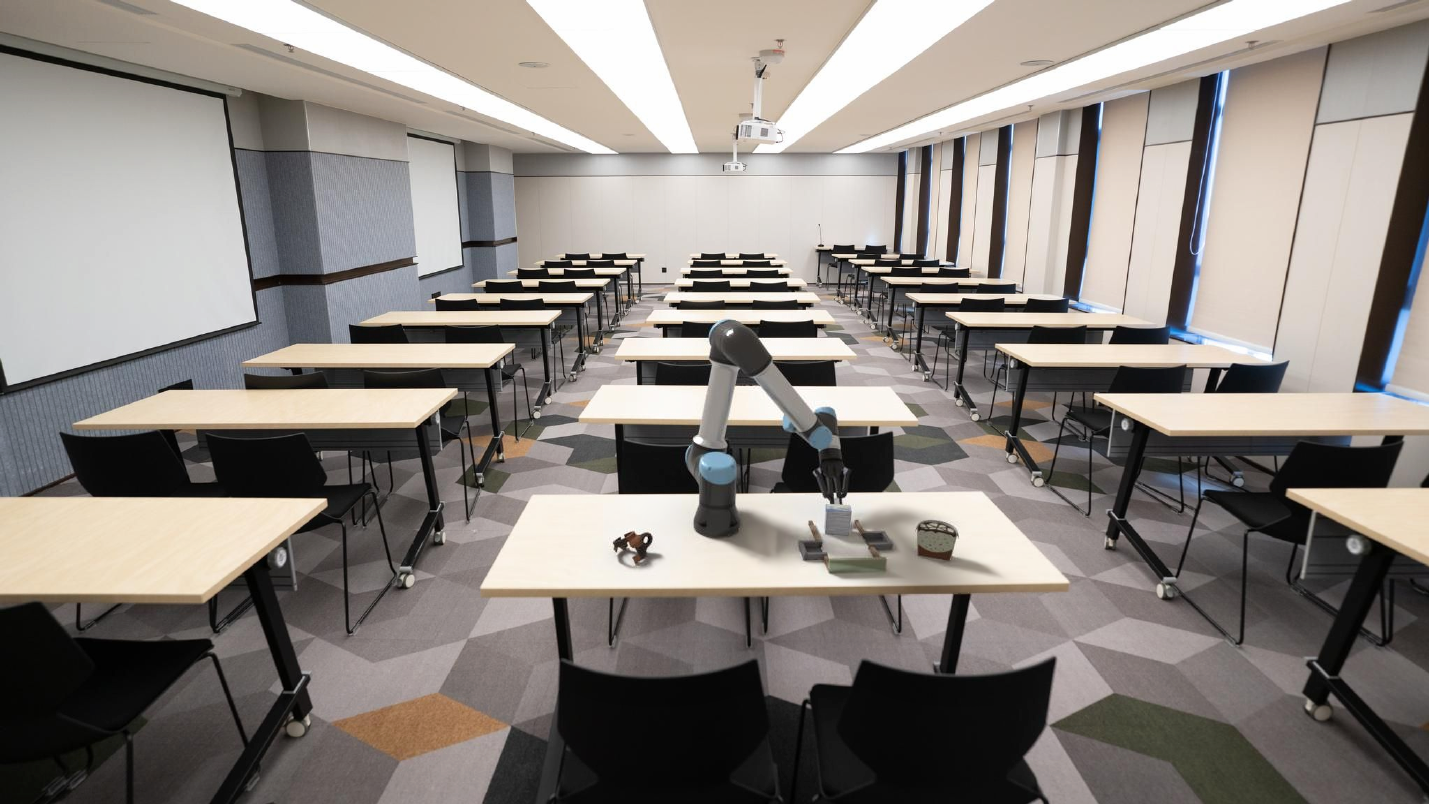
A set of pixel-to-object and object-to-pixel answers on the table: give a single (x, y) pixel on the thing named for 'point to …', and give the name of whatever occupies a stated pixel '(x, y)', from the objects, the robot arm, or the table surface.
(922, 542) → the food container
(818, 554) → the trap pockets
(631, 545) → the brown looped part
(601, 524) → the table surface
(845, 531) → the medicine box
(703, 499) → the robot arm
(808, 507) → the table surface
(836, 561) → the walnut lane
